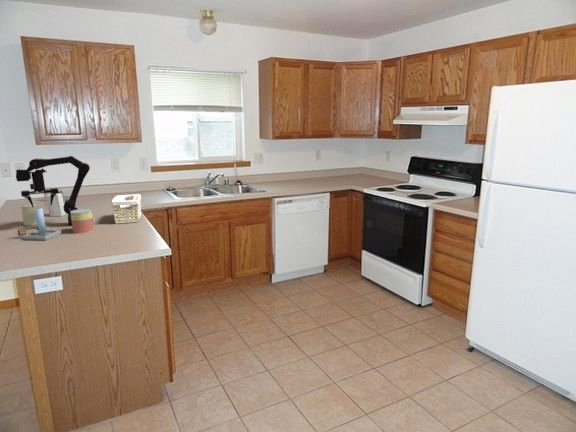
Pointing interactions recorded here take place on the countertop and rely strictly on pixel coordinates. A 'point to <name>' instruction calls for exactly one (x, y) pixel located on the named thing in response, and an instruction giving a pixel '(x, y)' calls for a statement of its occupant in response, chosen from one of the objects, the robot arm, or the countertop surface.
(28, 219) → the can
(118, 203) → the storage basket
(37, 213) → the tall blue pillar
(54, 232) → the tray
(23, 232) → the slot
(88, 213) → the canned food
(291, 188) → the countertop surface
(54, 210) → the skincare box
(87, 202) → the countertop surface
